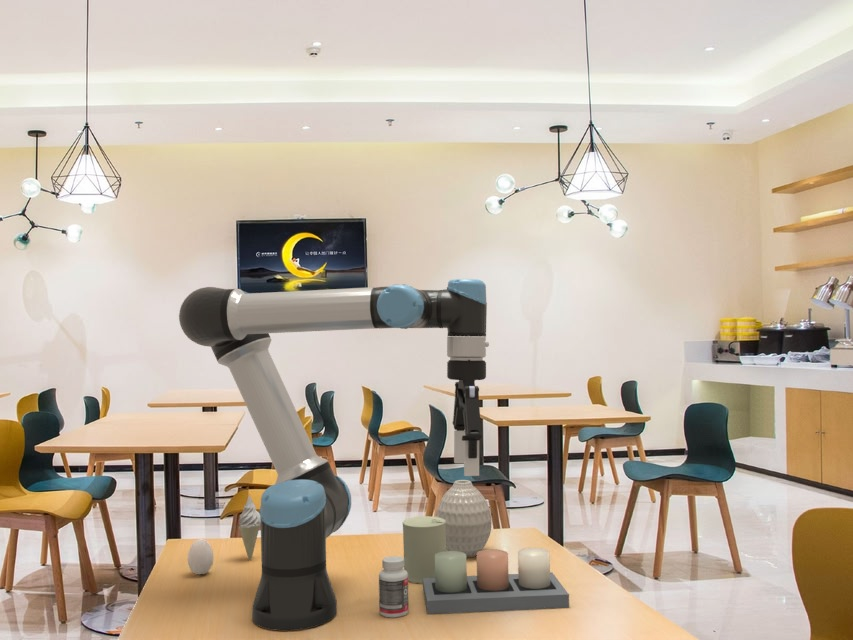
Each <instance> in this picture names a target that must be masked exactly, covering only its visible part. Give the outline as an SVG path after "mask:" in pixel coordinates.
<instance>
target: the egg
mask: <svg viewBox="0 0 853 640" xmlns="http://www.w3.org/2000/svg"><path fill="white" fill-rule="evenodd" d="M213 550H214V549H213V548H212V546H211V544H210V543H209V541H208V540H207V539H205V538H197V539H196V540H195V541H193V542H192V544H191V546H190V548H189V549H188V553H187V565H188V568H189V569H190V571H191V572H192V573H194V575H197V574H203V575H205V574H206V573H208V572H209V571H210V569H211V568H212V566H213V564H214V551H213Z"/></svg>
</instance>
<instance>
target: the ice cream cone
mask: <svg viewBox="0 0 853 640" xmlns="http://www.w3.org/2000/svg"><path fill="white" fill-rule="evenodd" d="M243 508H244V509H243V510H242V513H240V515H239V520H238V523H239V524H238V527H237V528H238V529H239V532H240V535H241V538H242V541H243V546H244V548H245V552H246V555H247V559H248V561H249V560H251V561H252V558H253V554H254V551H255V546H256V543H257V539H258V536H259V535H258V534H259V532H260V531H259V530H260V528H261V521H260V512H259V511H257V509H256V505H255V503H254V501H253V499H252V496H251V494H248V497H247V501H246V503H245V504H244V505H243Z"/></svg>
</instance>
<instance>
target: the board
mask: <svg viewBox="0 0 853 640" xmlns="http://www.w3.org/2000/svg"><path fill="white" fill-rule="evenodd" d="M422 592H423V596H424V597H423V598H424V603H425V606H426V612H427V613H426V614H427V615H439V614H440V615H442V614H461V613H462V614H463V613H482V612H483V613H485V612H502V611H503V612H504V611H527V610H528V611H529V610H542V609H543V610H546V609H547V610H548V609H550V610H551V609H565V608H566V609H567V608H570V594H569V592H568V591H567V589H566V588H564V586H563V584H562V583H561V582H560V581H559V579H558V578H557V577H556V575H555V574H554V573H553V572H551V571H550V586H548V587H546V588H540V589H531V588H525V587H522V586H520V585H519V576H518V573H510V574H509V587H508V588H506V589H503V590H497V591H490V590H483V589H480V588H479V587H478V586H477V575H467V589H465V590H463V591H460V592H453V593H448V592H441V591H438V590H437V589H436V588H435V578H423V584H422Z"/></svg>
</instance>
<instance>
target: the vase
mask: <svg viewBox="0 0 853 640" xmlns="http://www.w3.org/2000/svg"><path fill="white" fill-rule="evenodd" d="M437 506H438V507H437V509H436V513H435V514H436V515H435V517H439V518H443V519H444V520H445V521H446V551H459V552H463V553H465V554H466V559H469V558H468V557H470V558H474V557H477V556H476V555H477V552H478V551H481V550H484V548H485V546H486V544H487V543H488V541H489V538H490V536H491V531H492V525H493V524H492V512H491V509H490V506H489V503H488V501H487V500H486V498H485V497H484V495H483V494H482V493H481V492H480V490H478V488H477V487H475V486H474V484H473V483H472V481H471V480H467V479H458V480H457V479H456V480H455V481H453V485H452V486H451V487H449V489H448V490H447V491H446V492H445V493H444V494H443V496H442V497H441V499H440V501H439V503H438V505H437Z"/></svg>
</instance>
